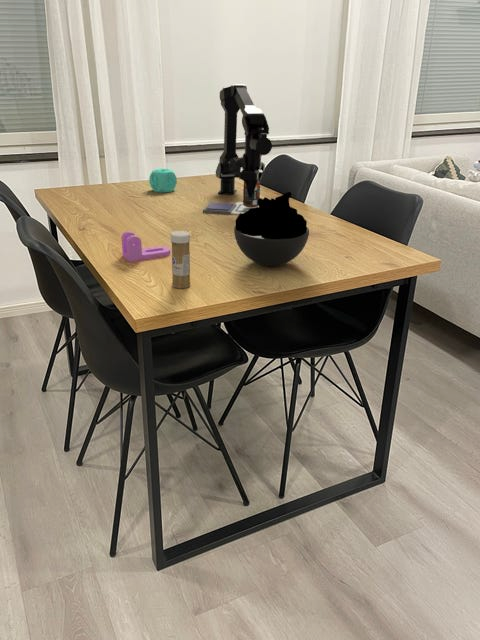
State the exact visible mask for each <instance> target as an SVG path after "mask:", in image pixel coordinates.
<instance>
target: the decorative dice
mask: <svg viewBox="0 0 480 640" xmlns="http://www.w3.org/2000/svg"><path fill="white" fill-rule="evenodd" d="M148 180H149V186H150V188H151V190H152V191H154V192H156V193H171V192H173V191H174V190H175V189H176V186H177V184H178V182H177V181H178V178H177V175H176V173H175V172H174V171H173V170H172V169H169V168H155V169H153V170H152V172H151V173H150V175H149V179H148Z"/></svg>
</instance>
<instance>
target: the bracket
mask: <svg viewBox="0 0 480 640" xmlns="http://www.w3.org/2000/svg"><path fill="white" fill-rule="evenodd" d="M142 245H143V244H142V240H141V238H140V237H138V236H137V235H136V234H135V233H134V232H132V231H130V230H128V231H127V230H126V231H125V232H123V233H122V235H121V250H122V251H121V252H122V257H124V258H125V260H127V261H128V262H138V261H143V260H148V259H150V258H151V259H156V258H157V257H158V258H162V257H163V256H164V257H168V256H170V255H171V248H170V247H169V246H162V245H158V246H151V247H144V248H143V247H142Z"/></svg>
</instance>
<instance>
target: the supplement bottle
mask: <svg viewBox="0 0 480 640" xmlns="http://www.w3.org/2000/svg"><path fill="white" fill-rule="evenodd" d="M260 193H261V180H260V181H259V180H258V182H257V185H256V187H255V190H254V192H253V195H252V197H249V196H248V191H247V187H246V183H245V182H244V181H243V193H242V194H243V195H242V198H243V200H242V203H243V205H244V206H245V207H258V206H259V205H258V203H257V202H258V198H261V197H260V196H261V194H260Z"/></svg>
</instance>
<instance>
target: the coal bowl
mask: <svg viewBox="0 0 480 640" xmlns="http://www.w3.org/2000/svg"><path fill="white" fill-rule="evenodd" d="M291 197H292V193H291V192H290V191H287V192H286V193H283V194H282V195H280V196H276V197H275V198H268V197H265V196H264V197H263V198H262V197H260V198H258V202H257V203H258V205H259V207H255V208H252V209H249V210H248V211H247V212H245V213H243V214H241V213H240V214H239V215H238V216H237V217H236V220H235V225H234V227H233V233H234V238H235V242H236V244H237V245H238V248H239V249H240V251H241V252H242V254H243V255H244V256H245V257H247V258H248V259H249V260H251V261H252V262H254V263H256V264H257V265H261V266H266V267H276V266H282V265H285V264H288V263H289V262H291V261H292V260H294V259H295V258H297V257H298V256H299V254H300V253H302V251H303V250H304V247H306V245H307V242H308V239H309V237H310V229H309V227H307V224H308V222H307V220H306V219H305V217H304V216H303V215H302V214H300V213H298V209H297V208H295V207H292V206H291V205H290V198H291Z"/></svg>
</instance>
